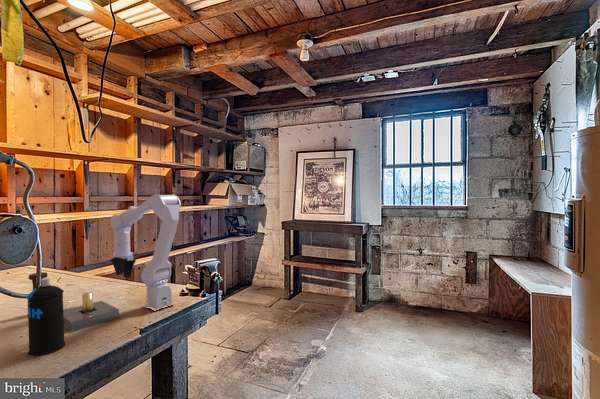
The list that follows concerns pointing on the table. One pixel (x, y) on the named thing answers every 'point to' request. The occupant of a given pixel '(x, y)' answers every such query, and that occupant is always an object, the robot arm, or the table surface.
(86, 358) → the table surface
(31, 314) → the aerosol can
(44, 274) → the bolt
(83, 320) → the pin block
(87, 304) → the brass pin
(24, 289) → the table surface
